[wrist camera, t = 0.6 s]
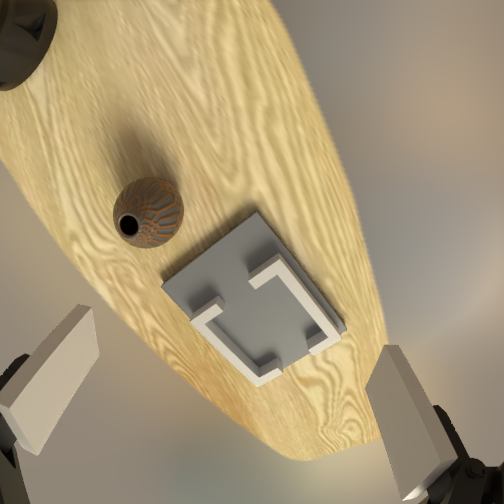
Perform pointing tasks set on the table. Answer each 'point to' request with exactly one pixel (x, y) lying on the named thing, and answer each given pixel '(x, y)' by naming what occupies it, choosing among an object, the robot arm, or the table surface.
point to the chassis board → (255, 302)
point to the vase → (148, 212)
